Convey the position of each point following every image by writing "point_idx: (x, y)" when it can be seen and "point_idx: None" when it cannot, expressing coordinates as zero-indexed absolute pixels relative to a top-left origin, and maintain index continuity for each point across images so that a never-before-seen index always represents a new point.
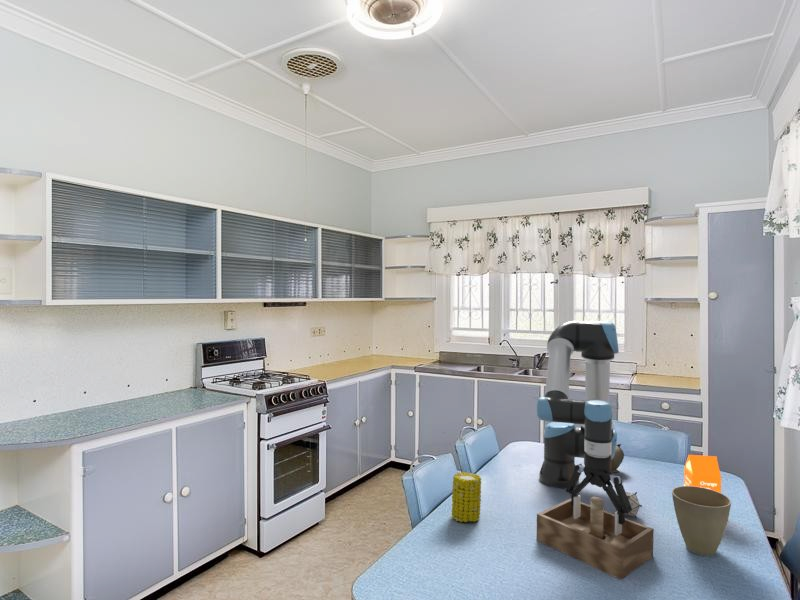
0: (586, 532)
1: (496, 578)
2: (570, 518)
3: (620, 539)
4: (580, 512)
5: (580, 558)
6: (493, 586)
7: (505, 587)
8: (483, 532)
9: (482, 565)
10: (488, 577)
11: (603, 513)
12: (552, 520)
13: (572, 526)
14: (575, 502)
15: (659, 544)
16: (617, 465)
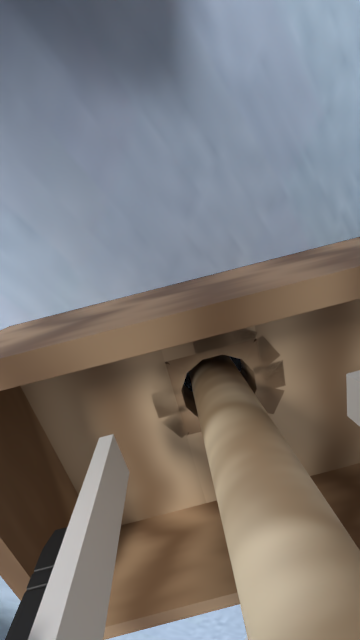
0: (178, 407)
1: (207, 626)
2: (33, 383)
3: (293, 321)
4: (106, 454)
5: None
6: (226, 636)
7: (239, 624)
8: (7, 593)
9: (155, 632)
10: (197, 635)
11: (309, 477)
12: (148, 627)
13: (109, 423)
14: (102, 620)
15: (340, 97)
16: None
